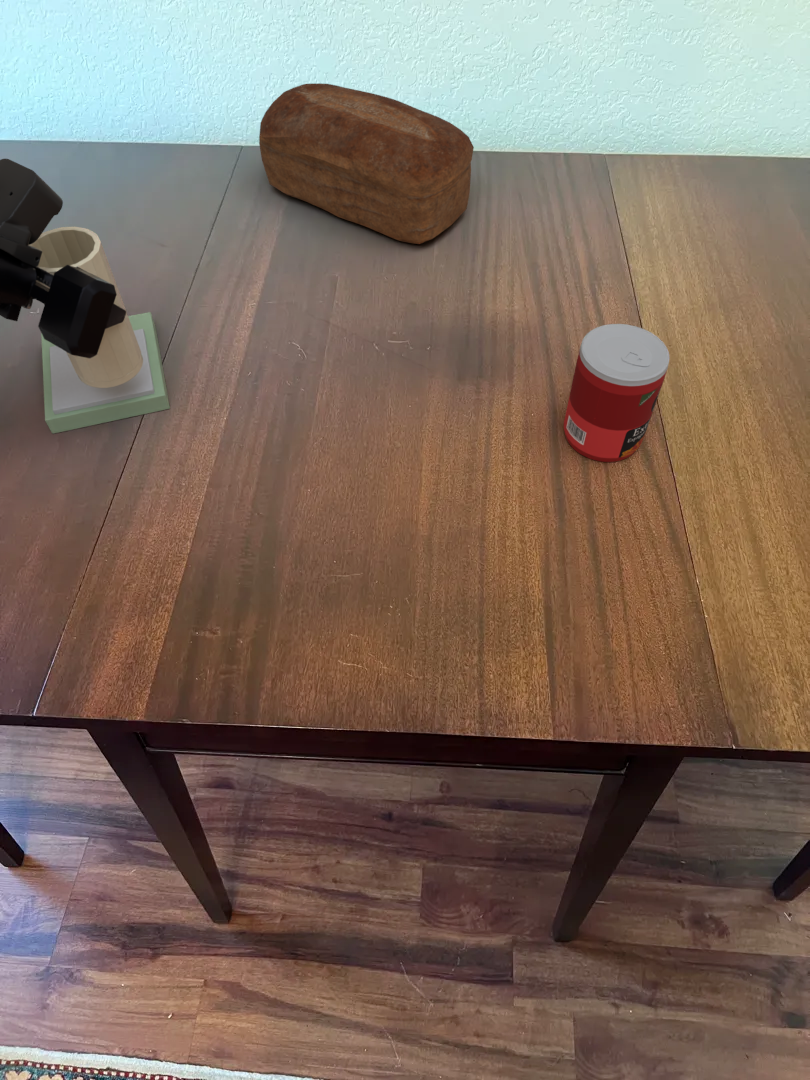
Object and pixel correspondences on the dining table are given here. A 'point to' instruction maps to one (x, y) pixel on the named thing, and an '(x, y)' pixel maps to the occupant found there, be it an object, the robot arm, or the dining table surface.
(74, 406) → the scale
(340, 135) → the bread
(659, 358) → the canned food
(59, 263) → the cup
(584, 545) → the dining table surface
